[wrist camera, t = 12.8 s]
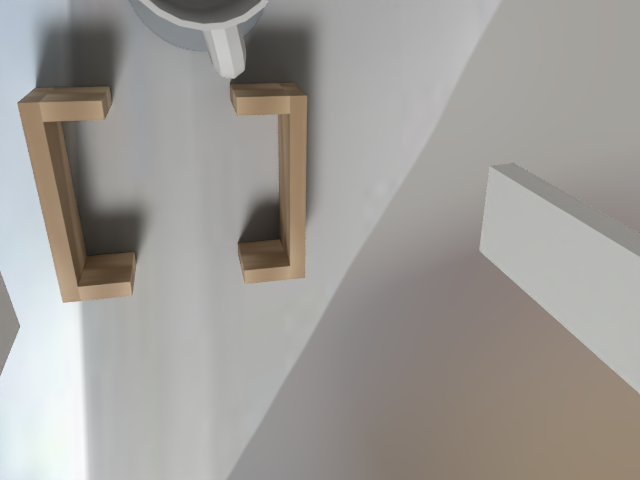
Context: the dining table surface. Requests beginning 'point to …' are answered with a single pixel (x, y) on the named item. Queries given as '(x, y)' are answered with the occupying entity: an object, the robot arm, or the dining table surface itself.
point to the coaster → (181, 28)
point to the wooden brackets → (119, 269)
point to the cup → (214, 27)
